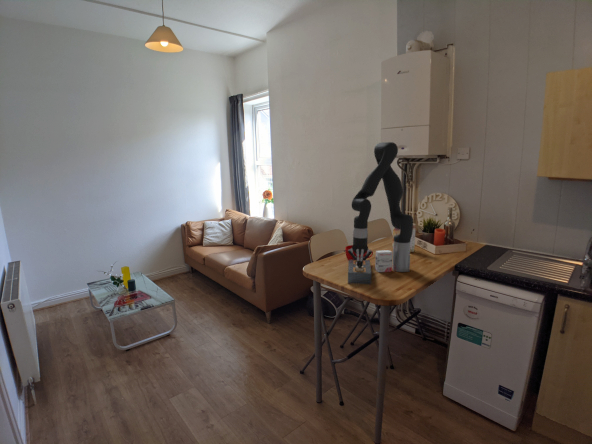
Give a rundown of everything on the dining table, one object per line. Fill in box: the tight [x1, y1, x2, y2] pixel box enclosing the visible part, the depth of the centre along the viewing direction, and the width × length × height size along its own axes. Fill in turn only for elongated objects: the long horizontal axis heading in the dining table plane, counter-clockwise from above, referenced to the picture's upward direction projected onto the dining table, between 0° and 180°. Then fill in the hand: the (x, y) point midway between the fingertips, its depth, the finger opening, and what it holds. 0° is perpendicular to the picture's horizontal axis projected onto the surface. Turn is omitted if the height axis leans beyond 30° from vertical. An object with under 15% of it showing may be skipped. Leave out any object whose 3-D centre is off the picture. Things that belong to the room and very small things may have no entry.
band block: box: [347, 259, 372, 285], centre depth 183 cm, size 22×12×6 cm, turn 170°
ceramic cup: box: [344, 244, 374, 262], centre depth 203 cm, size 13×17×10 cm
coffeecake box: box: [391, 223, 416, 253], centre depth 230 cm, size 15×7×20 cm, turn 25°
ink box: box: [374, 249, 393, 273], centre depth 190 cm, size 8×5×12 cm, turn 96°
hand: (359, 267), depth 176 cm, fingers closed
